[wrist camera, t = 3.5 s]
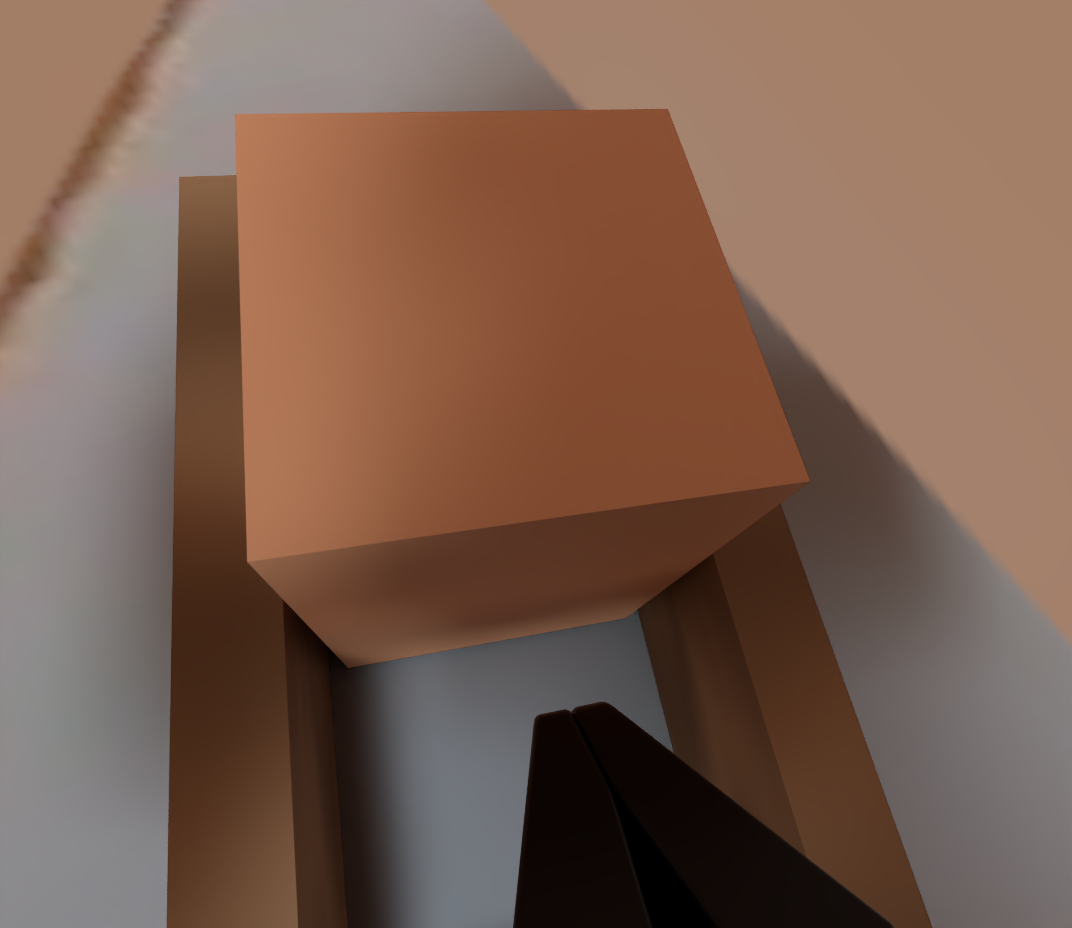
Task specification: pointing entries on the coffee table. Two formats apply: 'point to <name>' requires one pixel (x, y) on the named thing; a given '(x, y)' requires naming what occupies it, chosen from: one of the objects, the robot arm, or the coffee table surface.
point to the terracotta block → (489, 373)
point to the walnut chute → (305, 691)
